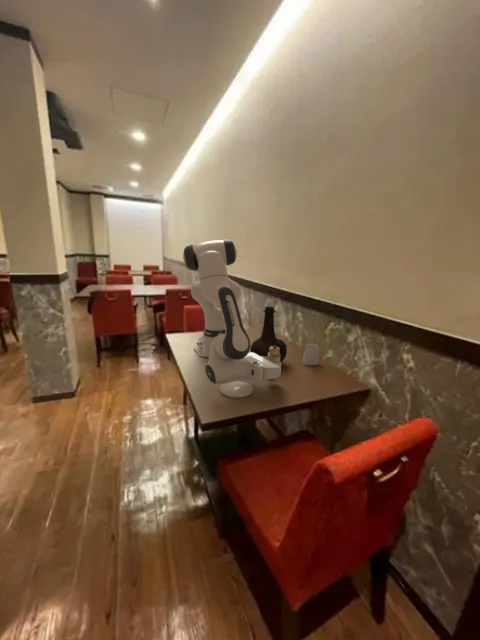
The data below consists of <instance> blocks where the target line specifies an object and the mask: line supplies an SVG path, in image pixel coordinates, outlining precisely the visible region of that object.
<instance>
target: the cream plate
mask: <svg viewBox="0 0 480 640" xmlns="http://www.w3.org/2000/svg"><path fill="white" fill-rule="evenodd" d="M253 392H254V387H253V386H252V385H251V384H250V383H248V382H244V381H241V380H235V381H234V382H230V383H224V384H220V386H219V393H220V394H221V395H223V396H225V397H228V398H233V399H237V398H238V399H241V398H245V397H249V396H250V395H252V394H253Z"/></svg>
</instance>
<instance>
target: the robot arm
mask: <svg viewBox="0 0 480 640" xmlns="http://www.w3.org/2000/svg"><path fill="white" fill-rule="evenodd" d="M237 251H238V250H237V247H236V246H235V243H234V241H232V240H231V239H222V240H218V239H217V240H210V241H209V240H207V241H205V242H200V243H199V242H198V243H196V244H189V245H187V246H185V247H184V249H183V255H182V259H183V263H184V265H185V266H186V268H187V269H188V270H189V271H193V272H194V271H195V272H197V271H198V281H194V282H193V283H192V285H191V287H190V295H191V297H192V299H193V300H194V301H196V302H197V303H198V304H199V306H200V307H201V309H202V311H203V314H204V327H203V333H202V335H201V336H200V337H199V338H198V340H197V341H196V345H195V346H194V347H193V350H194V349H195V350H194V352H195V353H196V352H197V353H196V354H197V356H198V355H199V356H201V357H202V358H208V361H207V362H206V365H205V368H204V369H205V374H206V377H207V379H209V381H210V383H213V384H215V385H222V384H224V383H230V382H234V381H243V380H247V381H253V382H256V383H261V382H263V381H264V380H265V381H268V380H269V379H273V378H277V377H279V378H280V377H281V375H282V374H281V373H282V362H279V361H278V362H276V363H272V362H270V361H269V360H268V357H263V356H259V355H257V354H256V353H254V352H250V348H251V345H252V343H251V340H250V337H249V335H248V333H247V331H246V330H245V327H244V324H243V321H242V320H243V319H242V317H241V313H240V309H239V305H238V303H237V302H238V300H239V299H240V298H241V295H242V288H241V286H240V284H239V283H238V282H237V281H235V280H233V279H231V278H230V277H229V275H228V274H229V273H228V270H227V267H226V266H231V265H233V264H234V263H235V262H236V259H237V256H238V254H237V253H238V252H237ZM199 356H198V357H199ZM201 357H200V358H201Z"/></svg>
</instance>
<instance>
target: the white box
mask: <svg viewBox="0 0 480 640" xmlns="http://www.w3.org/2000/svg"><path fill="white" fill-rule="evenodd" d="M302 351H303V352H302V353H303V354H302V364H303V365H304V366H319V359H320V346H319V344H317V343H316V344H315V343H313V344H312V343H311V344H310V343H308V344H307V343H305V344H304V349H303V350H302Z"/></svg>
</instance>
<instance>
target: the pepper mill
mask: <svg viewBox="0 0 480 640" xmlns="http://www.w3.org/2000/svg"><path fill="white" fill-rule="evenodd" d="M279 351H280V348H279V347H276V346H273V347H270V350H269V353H268V360H269V361H270V362H272V363H276V362H278V361H279V362H280V355H281V354H280V353H279ZM279 380H280V376H279V377H277V378H273V379H269V380H267V381H268V382H271V383H272V382H273V383H275V382H279Z"/></svg>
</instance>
